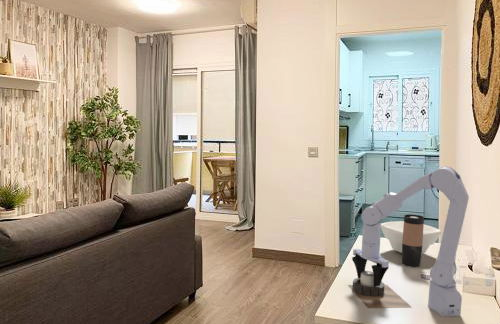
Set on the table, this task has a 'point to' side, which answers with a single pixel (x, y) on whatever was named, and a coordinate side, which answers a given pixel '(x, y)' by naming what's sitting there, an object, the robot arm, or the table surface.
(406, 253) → the travel mug
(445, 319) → the table surface
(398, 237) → the bowl
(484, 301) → the table surface
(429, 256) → the table surface
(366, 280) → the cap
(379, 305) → the socket board
